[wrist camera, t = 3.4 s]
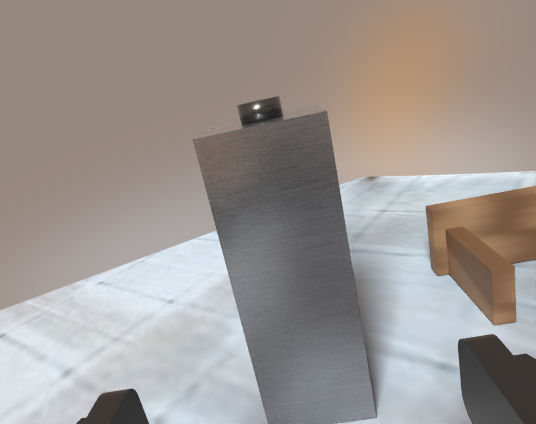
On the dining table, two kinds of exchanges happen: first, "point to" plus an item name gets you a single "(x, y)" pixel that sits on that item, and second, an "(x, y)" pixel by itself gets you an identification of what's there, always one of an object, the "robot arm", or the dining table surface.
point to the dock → (485, 246)
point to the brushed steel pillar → (289, 261)
